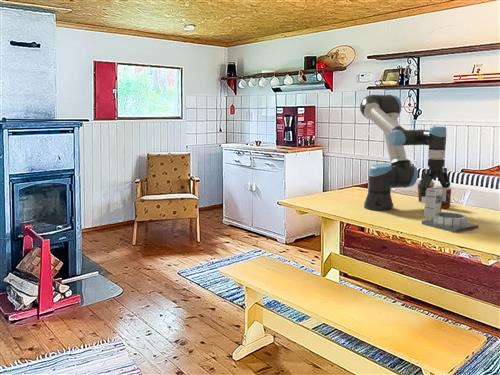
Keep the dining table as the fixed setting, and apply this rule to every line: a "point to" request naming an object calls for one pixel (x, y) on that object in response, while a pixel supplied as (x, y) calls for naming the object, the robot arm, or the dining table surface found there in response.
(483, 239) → the dining table surface
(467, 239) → the dining table surface
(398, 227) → the dining table surface
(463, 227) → the ring plate
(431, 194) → the syrup box
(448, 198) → the canned food
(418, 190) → the disposable coffee cup
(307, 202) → the dining table surface
